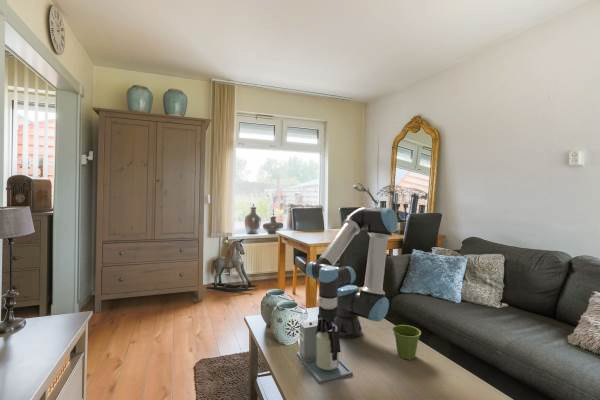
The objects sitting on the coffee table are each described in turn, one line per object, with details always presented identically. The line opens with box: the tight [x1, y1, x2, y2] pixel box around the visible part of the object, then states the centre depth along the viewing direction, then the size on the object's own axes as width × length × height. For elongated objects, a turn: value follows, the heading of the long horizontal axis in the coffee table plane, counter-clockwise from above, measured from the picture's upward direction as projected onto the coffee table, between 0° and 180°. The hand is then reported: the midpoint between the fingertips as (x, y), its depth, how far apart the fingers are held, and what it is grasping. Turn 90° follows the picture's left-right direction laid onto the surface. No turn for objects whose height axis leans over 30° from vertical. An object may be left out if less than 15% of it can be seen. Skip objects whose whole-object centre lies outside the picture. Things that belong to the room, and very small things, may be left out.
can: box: [316, 332, 340, 370], centre depth 127 cm, size 9×9×12 cm
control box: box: [296, 320, 318, 363], centre depth 137 cm, size 10×7×15 cm
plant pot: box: [392, 324, 422, 361], centre depth 138 cm, size 12×12×11 cm
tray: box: [303, 358, 354, 384], centre depth 127 cm, size 15×15×1 cm
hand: (327, 361), depth 127 cm, fingers closed on can, 9 cm apart
